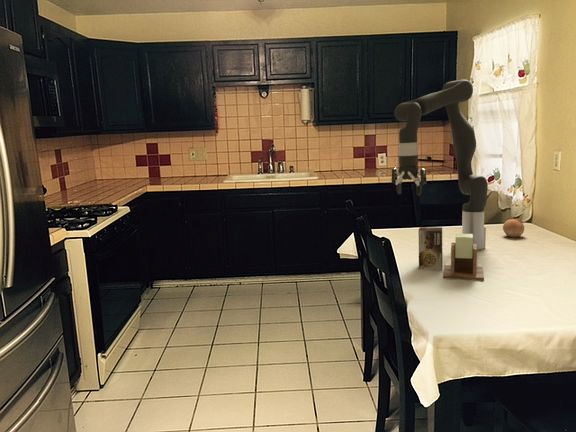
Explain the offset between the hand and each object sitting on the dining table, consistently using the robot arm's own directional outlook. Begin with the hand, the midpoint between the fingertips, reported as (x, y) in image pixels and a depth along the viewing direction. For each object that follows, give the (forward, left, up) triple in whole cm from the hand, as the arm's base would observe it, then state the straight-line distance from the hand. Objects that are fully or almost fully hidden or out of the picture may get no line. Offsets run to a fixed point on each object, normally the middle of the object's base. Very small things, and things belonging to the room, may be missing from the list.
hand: (408, 194), depth 192 cm
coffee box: (-5, +8, -29) cm, 31 cm away
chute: (-12, +20, -29) cm, 37 cm away
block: (-12, +20, -22) cm, 32 cm away
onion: (-68, -21, -29) cm, 77 cm away
